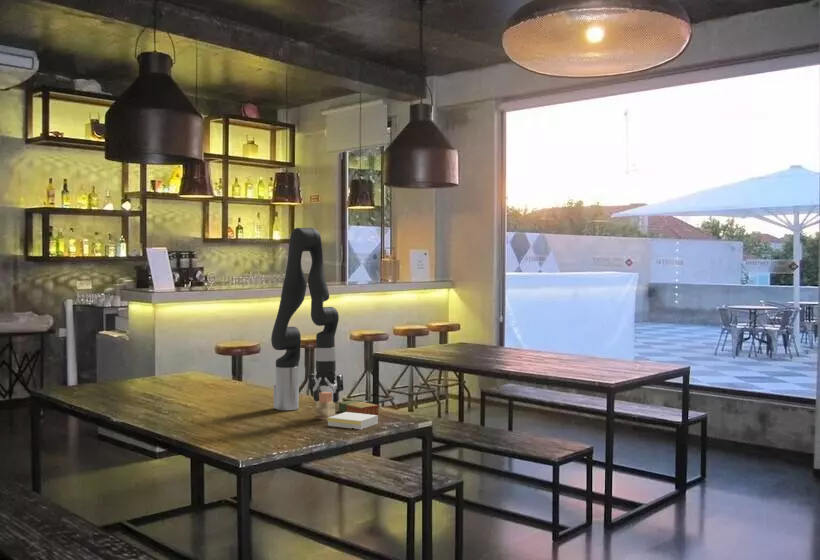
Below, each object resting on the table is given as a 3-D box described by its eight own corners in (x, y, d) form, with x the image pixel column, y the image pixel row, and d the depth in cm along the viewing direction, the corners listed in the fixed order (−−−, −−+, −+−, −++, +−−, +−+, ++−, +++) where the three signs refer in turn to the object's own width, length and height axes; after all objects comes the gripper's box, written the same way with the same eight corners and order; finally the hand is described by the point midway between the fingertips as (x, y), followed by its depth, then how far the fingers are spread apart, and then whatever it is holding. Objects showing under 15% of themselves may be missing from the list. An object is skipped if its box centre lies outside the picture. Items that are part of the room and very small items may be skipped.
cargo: (319, 402, 295) (319, 393, 295) (324, 400, 298) (324, 391, 298) (326, 402, 293) (326, 393, 293) (332, 401, 296) (332, 392, 296)
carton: (361, 418, 296) (361, 407, 296) (338, 412, 309) (337, 401, 309) (378, 415, 302) (378, 404, 302) (355, 409, 314) (355, 399, 314)
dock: (327, 425, 281) (327, 417, 281) (345, 419, 291) (345, 411, 291) (360, 429, 274) (360, 421, 274) (377, 423, 285) (377, 415, 285)
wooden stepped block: (314, 419, 294) (314, 402, 293) (325, 415, 300) (325, 399, 300) (326, 420, 291) (326, 403, 291) (336, 417, 297) (336, 401, 297)
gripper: (304, 359, 295) (305, 402, 295) (335, 360, 288) (336, 404, 288) (315, 357, 302) (316, 399, 302) (346, 359, 295) (347, 401, 295)
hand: (326, 401), depth 295 cm, fingers open, 8 cm apart
